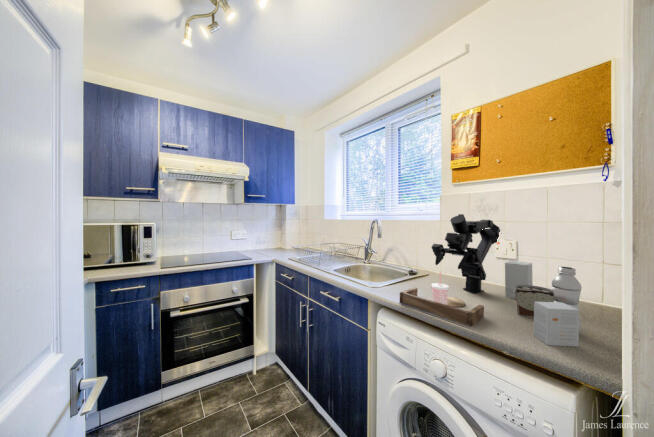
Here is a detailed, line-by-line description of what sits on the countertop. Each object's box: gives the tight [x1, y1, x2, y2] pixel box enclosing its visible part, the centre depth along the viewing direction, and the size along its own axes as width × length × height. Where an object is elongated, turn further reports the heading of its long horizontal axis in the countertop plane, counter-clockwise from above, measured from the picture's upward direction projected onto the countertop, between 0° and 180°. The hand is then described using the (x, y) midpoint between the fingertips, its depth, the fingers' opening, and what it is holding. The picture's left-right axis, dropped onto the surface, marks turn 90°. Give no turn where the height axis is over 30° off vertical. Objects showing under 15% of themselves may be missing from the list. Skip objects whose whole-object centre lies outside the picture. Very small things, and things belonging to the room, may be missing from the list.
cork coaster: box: [447, 296, 466, 308], centre depth 99 cm, size 10×10×1 cm
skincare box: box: [504, 260, 534, 300], centre depth 104 cm, size 8×7×16 cm
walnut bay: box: [399, 286, 485, 327], centre depth 92 cm, size 11×27×4 cm, turn 39°
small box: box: [533, 302, 580, 348], centre depth 69 cm, size 8×6×10 cm
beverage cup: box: [431, 271, 450, 305], centre depth 92 cm, size 6×6×14 cm
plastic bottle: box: [551, 266, 582, 333], centre depth 74 cm, size 6×7×20 cm
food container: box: [513, 284, 554, 318], centre depth 88 cm, size 12×6×10 cm, turn 71°
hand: (446, 266), depth 98 cm, fingers open, 9 cm apart
